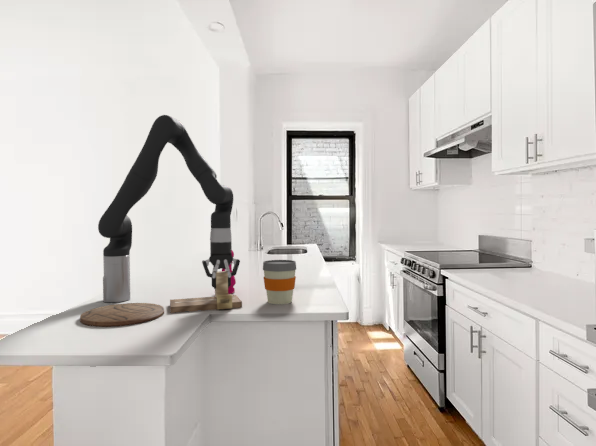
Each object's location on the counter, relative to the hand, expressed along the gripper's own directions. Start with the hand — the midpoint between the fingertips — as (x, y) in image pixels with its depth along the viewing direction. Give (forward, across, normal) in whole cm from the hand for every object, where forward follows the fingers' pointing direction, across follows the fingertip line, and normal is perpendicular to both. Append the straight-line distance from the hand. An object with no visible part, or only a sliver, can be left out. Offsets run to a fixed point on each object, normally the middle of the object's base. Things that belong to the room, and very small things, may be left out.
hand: (221, 287), depth 148 cm
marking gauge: (+6, 0, -2) cm, 6 cm away
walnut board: (+6, -6, 0) cm, 8 cm away
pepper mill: (+7, +5, +22) cm, 24 cm away
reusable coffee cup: (+6, +21, -2) cm, 22 cm away
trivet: (+7, -32, -5) cm, 33 cm away
